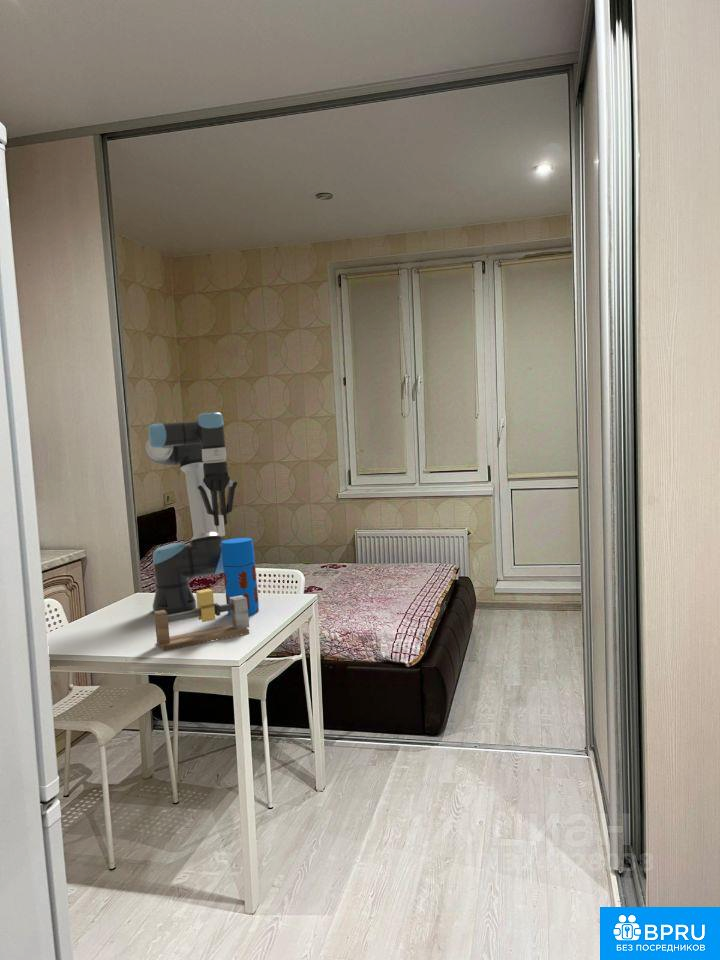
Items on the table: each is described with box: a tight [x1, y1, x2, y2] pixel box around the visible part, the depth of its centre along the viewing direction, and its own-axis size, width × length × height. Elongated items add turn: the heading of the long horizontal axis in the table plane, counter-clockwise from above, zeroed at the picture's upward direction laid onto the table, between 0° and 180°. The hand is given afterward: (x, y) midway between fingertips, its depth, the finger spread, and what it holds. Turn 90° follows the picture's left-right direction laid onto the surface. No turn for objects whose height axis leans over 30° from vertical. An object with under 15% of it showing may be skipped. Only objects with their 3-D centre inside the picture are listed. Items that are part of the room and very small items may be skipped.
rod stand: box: [153, 595, 250, 651], centre depth 229 cm, size 10×28×10 cm, turn 117°
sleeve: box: [195, 588, 216, 623], centre depth 229 cm, size 4×4×9 cm
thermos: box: [221, 537, 260, 617], centre depth 257 cm, size 11×11×25 cm
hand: (221, 535), depth 239 cm, fingers closed
